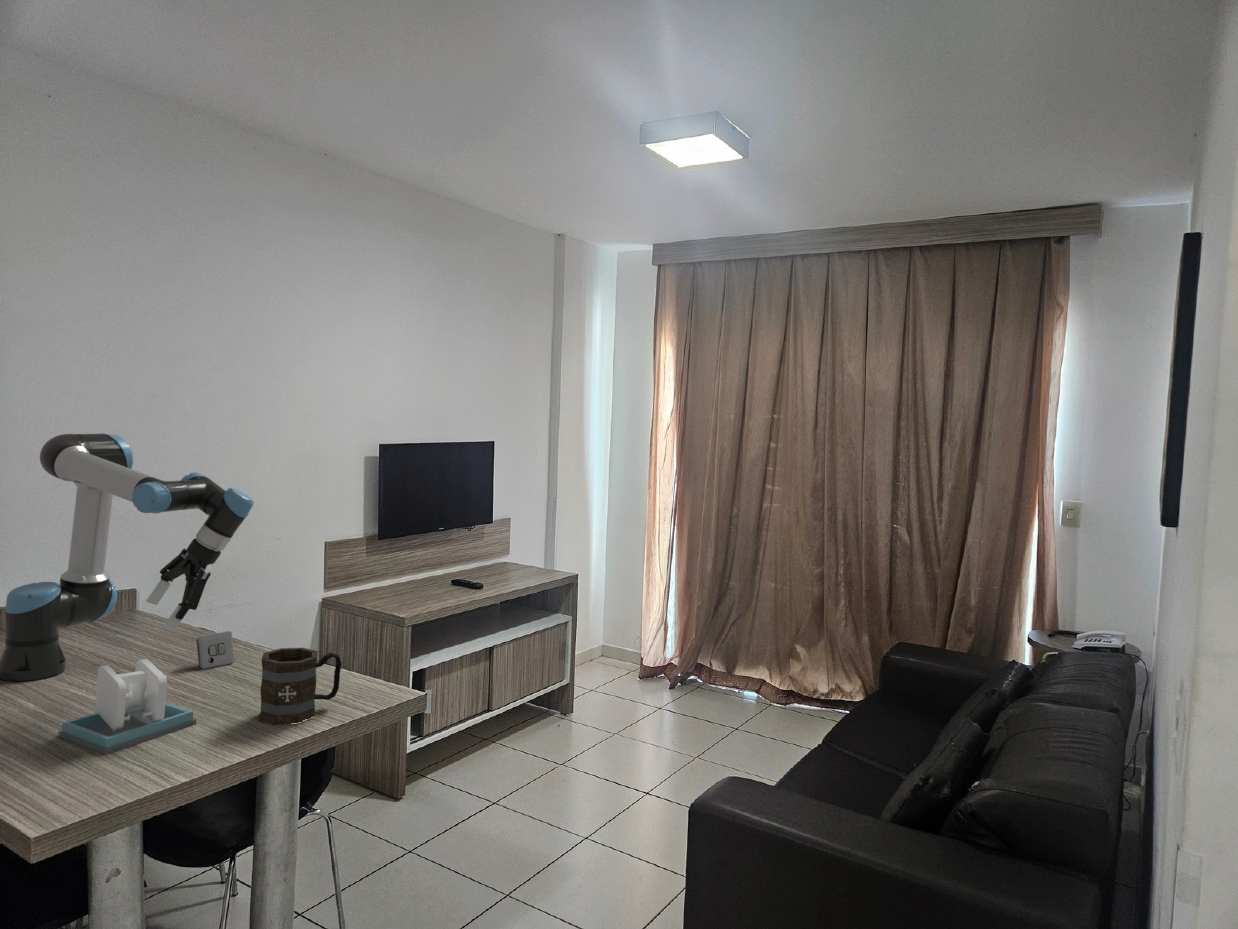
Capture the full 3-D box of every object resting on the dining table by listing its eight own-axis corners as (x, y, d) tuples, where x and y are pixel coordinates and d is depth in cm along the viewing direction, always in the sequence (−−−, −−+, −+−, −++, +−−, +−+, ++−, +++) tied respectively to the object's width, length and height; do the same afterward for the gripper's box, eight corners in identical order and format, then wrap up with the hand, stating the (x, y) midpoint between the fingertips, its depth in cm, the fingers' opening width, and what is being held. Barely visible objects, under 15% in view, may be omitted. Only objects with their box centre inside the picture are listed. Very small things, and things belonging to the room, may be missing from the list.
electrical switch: (201, 670, 228) (201, 637, 228) (193, 667, 231) (193, 635, 231) (235, 663, 235) (234, 631, 235) (226, 661, 238) (226, 629, 238)
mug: (268, 730, 189) (271, 667, 189) (249, 712, 199) (252, 652, 199) (350, 713, 202) (352, 654, 202) (328, 697, 213) (330, 641, 212)
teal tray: (58, 736, 179) (58, 723, 179) (150, 708, 198) (150, 696, 198) (105, 754, 172) (105, 740, 171) (196, 723, 190) (196, 711, 190)
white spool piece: (91, 710, 186) (96, 662, 185) (142, 701, 194) (147, 655, 193) (114, 736, 176) (118, 685, 175) (166, 726, 184) (171, 677, 183)
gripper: (239, 570, 204) (190, 643, 202) (203, 529, 220) (157, 596, 218) (213, 560, 198) (162, 635, 196) (178, 520, 214) (131, 588, 212)
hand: (159, 615), depth 207 cm, fingers open, 13 cm apart
